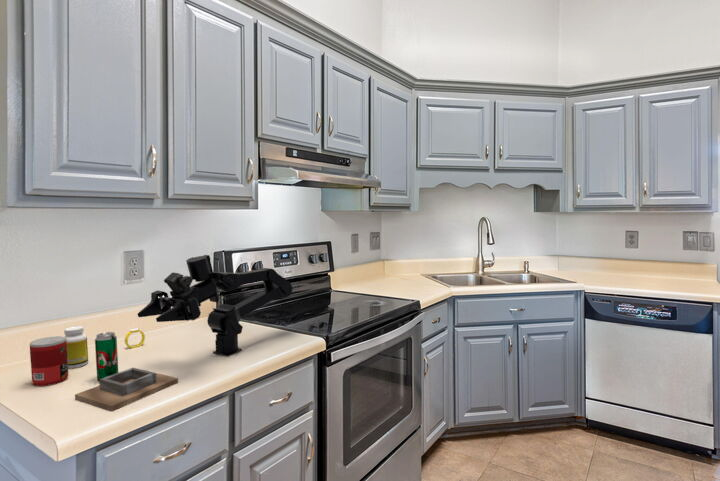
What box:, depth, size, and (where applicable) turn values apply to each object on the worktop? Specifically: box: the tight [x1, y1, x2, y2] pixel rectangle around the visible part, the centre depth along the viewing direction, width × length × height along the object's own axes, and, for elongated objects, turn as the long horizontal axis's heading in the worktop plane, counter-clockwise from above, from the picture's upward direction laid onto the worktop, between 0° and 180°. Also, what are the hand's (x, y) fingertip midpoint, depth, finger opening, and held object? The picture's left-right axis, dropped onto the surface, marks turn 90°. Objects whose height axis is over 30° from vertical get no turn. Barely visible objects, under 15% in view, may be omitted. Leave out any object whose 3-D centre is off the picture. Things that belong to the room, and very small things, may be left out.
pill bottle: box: [63, 325, 89, 369], centre depth 128 cm, size 6×6×11 cm
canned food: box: [29, 335, 69, 387], centre depth 116 cm, size 8×8×11 cm
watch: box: [124, 327, 146, 349], centre depth 145 cm, size 6×3×6 cm, turn 142°
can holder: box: [74, 367, 179, 412], centre depth 110 cm, size 18×14×4 cm
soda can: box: [94, 331, 119, 380], centre depth 118 cm, size 5×5×12 cm
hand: (147, 317), depth 117 cm, fingers open, 9 cm apart
